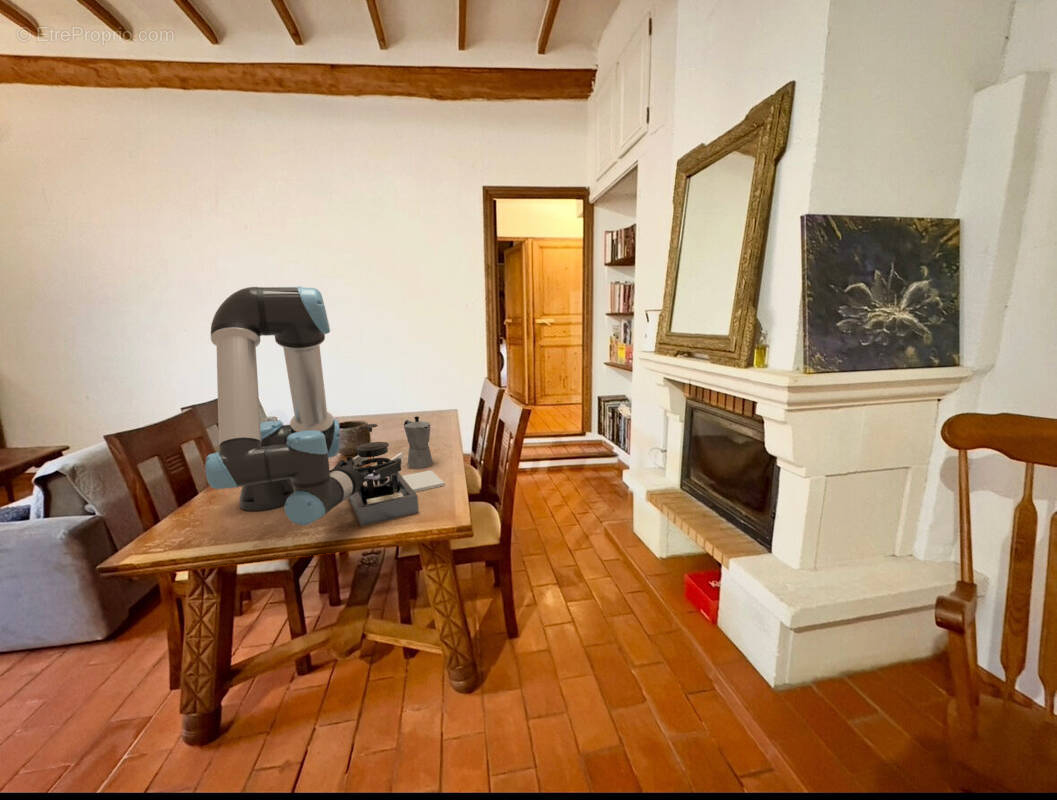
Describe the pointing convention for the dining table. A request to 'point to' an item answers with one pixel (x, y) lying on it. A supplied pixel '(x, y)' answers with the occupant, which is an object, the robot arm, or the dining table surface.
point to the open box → (386, 505)
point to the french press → (371, 451)
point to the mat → (423, 480)
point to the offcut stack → (383, 498)
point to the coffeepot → (418, 443)
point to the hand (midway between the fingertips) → (384, 456)
